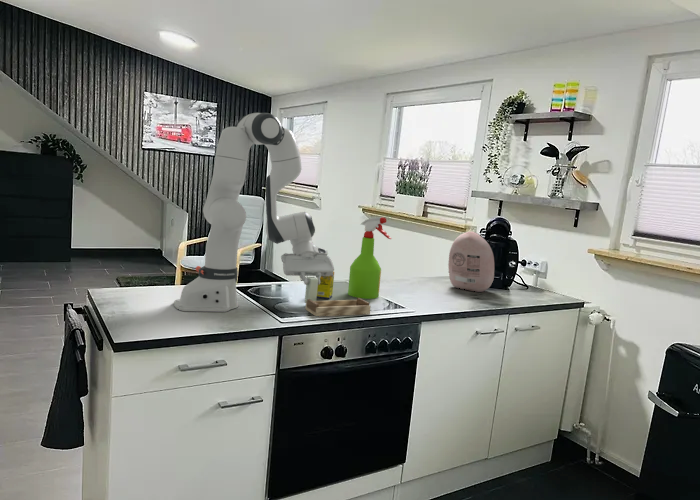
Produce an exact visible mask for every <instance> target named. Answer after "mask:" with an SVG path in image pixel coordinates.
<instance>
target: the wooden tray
mask: <svg viewBox="0 0 700 500" xmlns="http://www.w3.org/2000/svg"><path fill="white" fill-rule="evenodd" d="M305 310H306V311H307V312H308V313H310V314H312V315H314V316H315V317H316V316H319V317H334V316H335V317H337V316H341V317H342V316H357V315H358V316H360V315H363V316H364V315H370V314H371V305H370V302H369V301H367V300H365V299H363V298H356V299H339V300H338V299H335V300H332V299H331V300H330V299H328V300H316V301H312V300H311V299H307V301H306V303H305Z"/></svg>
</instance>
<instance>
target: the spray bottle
mask: <svg viewBox="0 0 700 500" xmlns="http://www.w3.org/2000/svg"><path fill="white" fill-rule="evenodd" d="M386 223H387V218H386V217H383V216H382V217H370V218H367V219H365V220H363V221H362V222H361V223H360V225H362V226H364V233H363V237H362V240H361V247H360V254H359V255H358V256H356V258H355V259H354V260H353V262H352V264H351V265H350V267H349V278H348V290H347V295H348V296H350V297H352V298H356V299H357V298H361V299H363V300H365V299H366V300H372V299H373V300H375V299H378V298H379V297H380V295H379V294H380V287H381V286H380V285H381V278H382V277H381V275H382V268H381V266H380V264H379V262H378V260H377V259H376V257H375V255H374V254H375V253H374V251H375V236H374V235H375V234H374V231H375V230H377V231H378V232H379V233H381V235H383V236H384V237H385V238H386V239H387V240H392V239H393V238H392V237H390V235H389V234H387V232H386V230H385V231H384V229H383V225H382V224H386Z"/></svg>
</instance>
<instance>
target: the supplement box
mask: <svg viewBox="0 0 700 500" xmlns="http://www.w3.org/2000/svg"><path fill="white" fill-rule="evenodd" d="M317 278H318V277H317ZM334 279H335V271H334V272H333V273H332V275H331V276H321V277H320V284H319V285H318V288H317V299H323V300H330V299H331V298H332V297H333V293H334V291H333V290H334V281H335V280H334Z"/></svg>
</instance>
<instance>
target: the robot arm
mask: <svg viewBox="0 0 700 500" xmlns="http://www.w3.org/2000/svg"><path fill="white" fill-rule="evenodd" d="M217 143H218V144H217V148H216V150H215V151H216V152H215V158H214V166H213V173H212V177H211V182H210V185H209V189H208V192H207V195H206V196H207V197H206V200H205V203H204V205H203V208H202V211H203V212H202V214H203V217H204V218H205V220H206V221H207V223H209V224H210V230H209V231H210V232H209V235H208V239H207V241H206V244H205V258H204V266H200V265H197V266H196V267H195V271H196V272H197V273H198V277H196V278H194V280H192V281H190V282H189V283H187V284H186V285H184V286H183V288H182V289H181V294H180V298H177V299H175V300H174V301H173V307H174V308H175V309H176V310H178V309H179V311H182V312H219V313H221V312H223V313H224V312H225V313H226V312H229V311H231V310H233V309H236V308H238V307H239V302H238V294H237V293H238V292H237V282H238V272H239V271H238V267H237V264H238V249H239V242H240V239H241V235H242V230H243V226H244V224H245V223H246V220H247V212H246V208H245V207H244V206H243V205H242V204H241V202H239V201H238V199H239V196H240V193H241V191H242V188H243V186H244V185H245V181H246V175H247V167H248V160H249V152H250V149H251V147H252V146H253V145H256V146H258V145H259V146H260V145H264V146H265V147H266V148H267V150H268V153H269V159H270V162H271V163H270V164H271V165H270V166H271V169H270V173H269V174H268V175H267V176H266V180H265V210H266V211H265V212H266V213H265V214H266V223H265V233H266V237H267V239H268V240H269V241H270V242H271V243H274V244H277V245H278V244H281V243H284V242H286V241H289V242H290V244H291V246H292V253H286V252H285V253H283V254H281V256H280V258H281V262H282V268H283V269H282V270H283V274H284V275H285V276H288V277H289V276H290V277H292V276H296V277H298V276H299V278H300V280H302V282H303V283H304V286H306V285H309V283H310V281H309V279H307V277H315V278H317V277H318V278H317V279H318V285H319V284H320V277H321V276H331V275H332V273H333V272H334V273H335V267H334V264H333V262H332V261H333V260H332V258H331V257H330V256H329V255H328V254H329V253H328V250H327V249H325V248H323V247H319V246H316V245H315V244H314V242H313V236H314V235H315V233H316V227H315V225H314V222H313V217H312V215H311V214H310V213H308V212H306V211H300V212H293V213H290V214H287V215H282V216H279V215H278V213H277V212H278V210H277V209H278V208H277V206H278V205H277V197H278V194H279V192H280V191H281V190H282V189H283V188H285V187H287V186H288V185H290V184H291V183H294V181H295V180H296V179H298V178H299V176H300V174H301V172H302V161H301V160H302V159H301V155H300V150H299V146H298V143H297V140H296V138H295V135H294V133H293V132H292V130H291V129H289V128H285V127H284V126H283V125H282V124H281V121H280V120H279V118H278V117H277V116H275V115H274V114H272V113H269V112H253V113H252V112H251V113H249V114H245V115H244V116H241V118H239V120H238V121H237V123H236V124H235V126H228V127H225V128H224V129H223V130H222V131H221V134H220V137H219V139H218V142H217ZM306 276H307V277H306Z"/></svg>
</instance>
